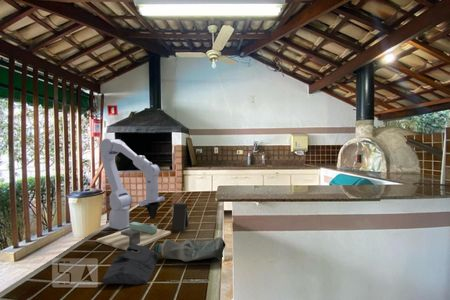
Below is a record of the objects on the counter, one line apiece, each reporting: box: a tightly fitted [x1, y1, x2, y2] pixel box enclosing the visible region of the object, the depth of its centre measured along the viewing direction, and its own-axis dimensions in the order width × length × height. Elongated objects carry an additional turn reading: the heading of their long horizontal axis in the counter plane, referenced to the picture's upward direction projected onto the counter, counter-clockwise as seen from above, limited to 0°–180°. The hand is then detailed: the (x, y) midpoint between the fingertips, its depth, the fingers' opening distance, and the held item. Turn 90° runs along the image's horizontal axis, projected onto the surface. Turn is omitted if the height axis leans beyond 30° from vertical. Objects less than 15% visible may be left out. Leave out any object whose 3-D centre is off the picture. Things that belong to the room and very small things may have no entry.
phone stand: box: [171, 202, 190, 232], centre depth 120 cm, size 9×6×12 cm, turn 173°
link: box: [128, 221, 158, 234], centre depth 113 cm, size 16×4×3 cm, turn 60°
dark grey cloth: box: [102, 244, 161, 285], centre depth 80 cm, size 15×22×5 cm
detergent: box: [153, 236, 226, 263], centre depth 87 cm, size 13×7×25 cm
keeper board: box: [96, 227, 172, 251], centre depth 107 cm, size 21×22×6 cm
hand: (152, 218), depth 119 cm, fingers closed
